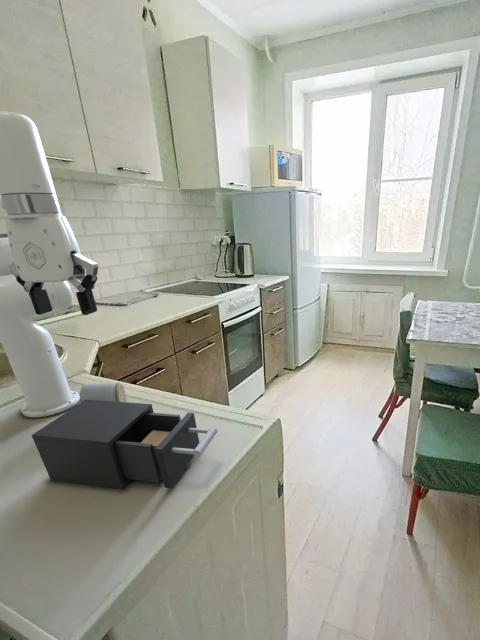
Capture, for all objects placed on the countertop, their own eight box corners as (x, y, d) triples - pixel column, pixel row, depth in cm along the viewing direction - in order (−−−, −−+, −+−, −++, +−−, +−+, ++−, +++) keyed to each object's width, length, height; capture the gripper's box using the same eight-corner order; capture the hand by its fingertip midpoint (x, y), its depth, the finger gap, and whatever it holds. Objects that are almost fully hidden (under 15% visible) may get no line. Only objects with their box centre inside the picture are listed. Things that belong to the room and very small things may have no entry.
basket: (225, 449, 67) (220, 414, 63) (200, 492, 57) (192, 452, 53) (138, 441, 71) (128, 408, 67) (99, 480, 61) (86, 442, 57)
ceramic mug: (123, 416, 82) (115, 386, 79) (85, 422, 80) (75, 391, 77) (131, 397, 91) (124, 369, 88) (97, 401, 90) (88, 374, 87)
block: (144, 465, 62) (138, 444, 60) (157, 450, 66) (152, 430, 64) (167, 468, 61) (162, 446, 59) (179, 452, 65) (175, 432, 63)
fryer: (161, 445, 71) (151, 403, 66) (123, 489, 60) (107, 442, 55) (98, 439, 74) (85, 399, 69) (50, 480, 63) (31, 435, 58)
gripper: (-33, 211, 55) (10, 318, 63) (60, 204, 52) (94, 319, 59) (10, 211, 62) (44, 307, 69) (95, 205, 58) (121, 308, 66)
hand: (67, 312), depth 64 cm, fingers open, 9 cm apart
